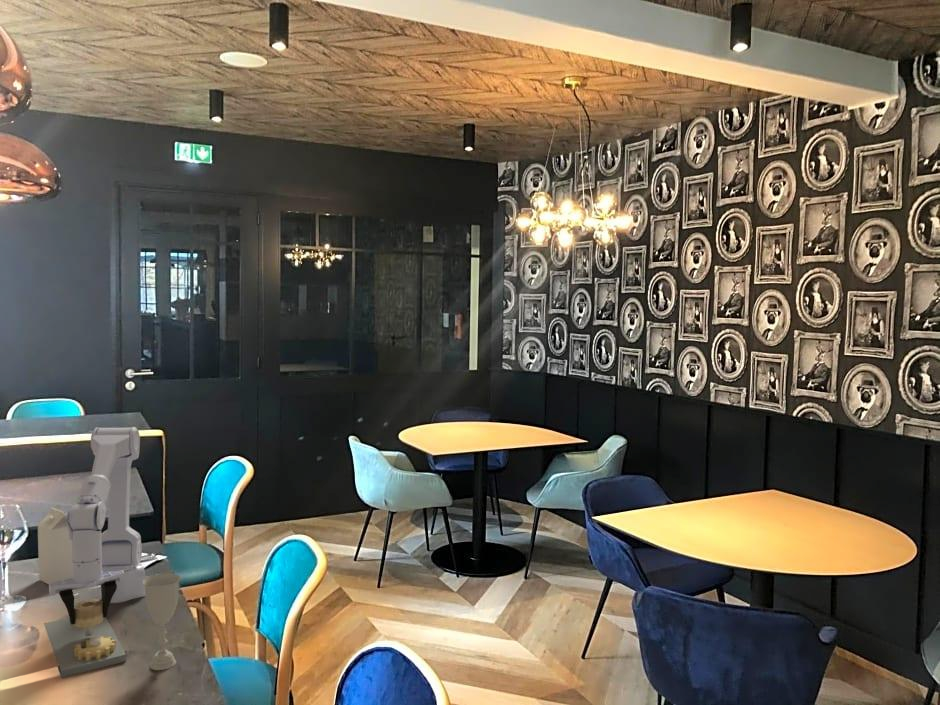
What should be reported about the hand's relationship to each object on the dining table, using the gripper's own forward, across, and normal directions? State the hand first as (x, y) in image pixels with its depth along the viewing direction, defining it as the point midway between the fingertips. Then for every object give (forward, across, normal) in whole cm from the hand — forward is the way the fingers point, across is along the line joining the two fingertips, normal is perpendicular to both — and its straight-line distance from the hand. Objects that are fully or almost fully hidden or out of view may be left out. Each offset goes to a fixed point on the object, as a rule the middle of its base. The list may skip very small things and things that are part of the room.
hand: (88, 619), depth 162 cm
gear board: (+6, -1, 0) cm, 6 cm away
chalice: (+6, +11, -18) cm, 22 cm away
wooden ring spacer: (+1, 0, 0) cm, 1 cm away
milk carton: (+6, 0, +45) cm, 45 cm away
